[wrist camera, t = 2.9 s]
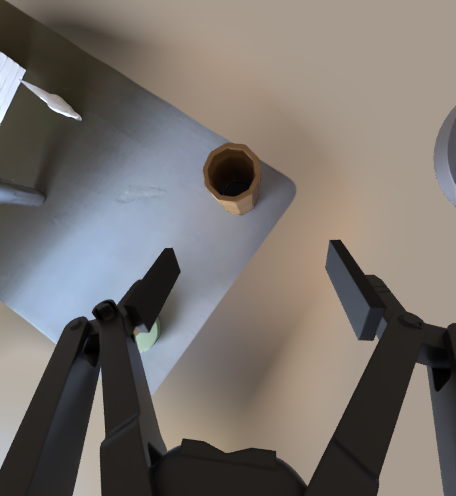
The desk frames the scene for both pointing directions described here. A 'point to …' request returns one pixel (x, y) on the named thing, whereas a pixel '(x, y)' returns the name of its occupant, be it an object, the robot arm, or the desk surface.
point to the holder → (148, 337)
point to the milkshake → (20, 194)
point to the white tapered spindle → (53, 101)
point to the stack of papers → (8, 82)
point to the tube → (233, 176)
